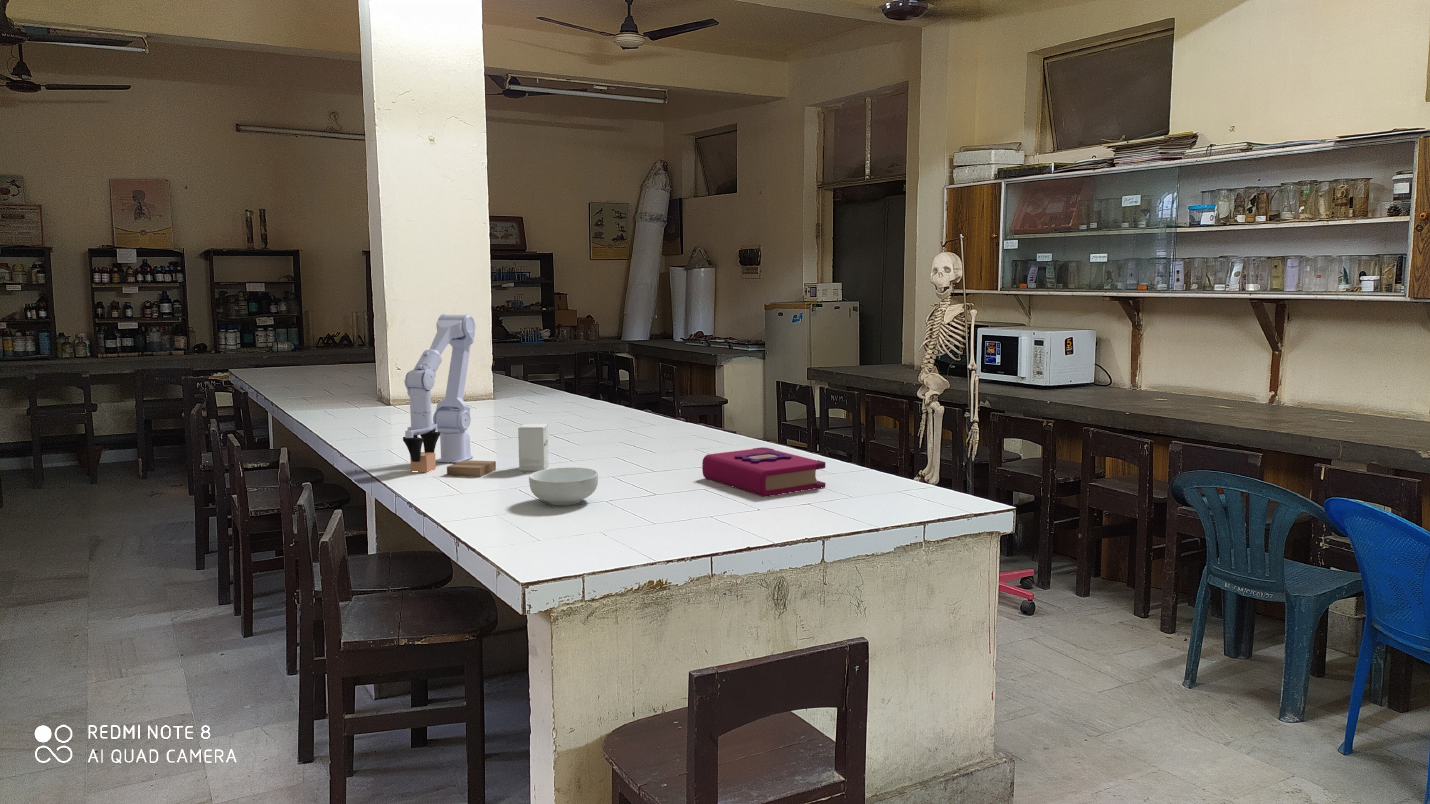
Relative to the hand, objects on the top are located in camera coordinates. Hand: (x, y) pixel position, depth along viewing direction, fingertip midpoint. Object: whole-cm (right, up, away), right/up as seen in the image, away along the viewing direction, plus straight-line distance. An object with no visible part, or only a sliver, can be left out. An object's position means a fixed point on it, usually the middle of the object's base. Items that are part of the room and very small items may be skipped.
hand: (422, 459), depth 279 cm
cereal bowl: (+46, -8, -39) cm, 61 cm away
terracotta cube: (0, -3, +1) cm, 4 cm away
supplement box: (+31, -3, +3) cm, 32 cm away
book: (+96, -6, -19) cm, 98 cm away
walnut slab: (+15, -4, -3) cm, 15 cm away
